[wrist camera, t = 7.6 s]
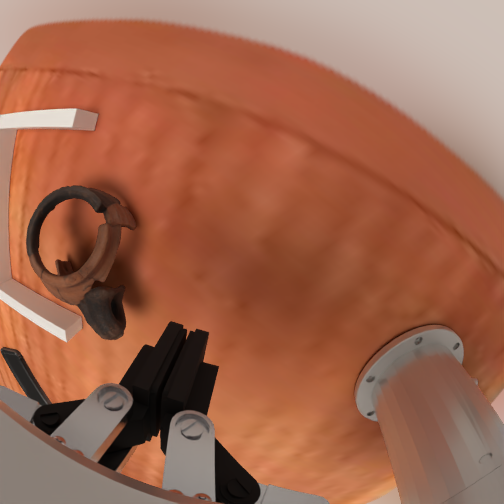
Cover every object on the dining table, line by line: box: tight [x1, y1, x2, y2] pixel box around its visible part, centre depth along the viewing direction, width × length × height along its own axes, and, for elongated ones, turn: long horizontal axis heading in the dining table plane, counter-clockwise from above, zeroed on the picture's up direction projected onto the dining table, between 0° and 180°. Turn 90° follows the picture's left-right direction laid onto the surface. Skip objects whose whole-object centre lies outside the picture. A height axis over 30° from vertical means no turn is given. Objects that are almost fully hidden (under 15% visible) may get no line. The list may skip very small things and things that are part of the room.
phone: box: [1, 347, 52, 406], centre depth 29 cm, size 8×1×15 cm
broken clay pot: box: [26, 186, 136, 340], centre depth 18 cm, size 12×10×8 cm
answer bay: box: [0, 109, 98, 342], centre depth 19 cm, size 14×21×4 cm
